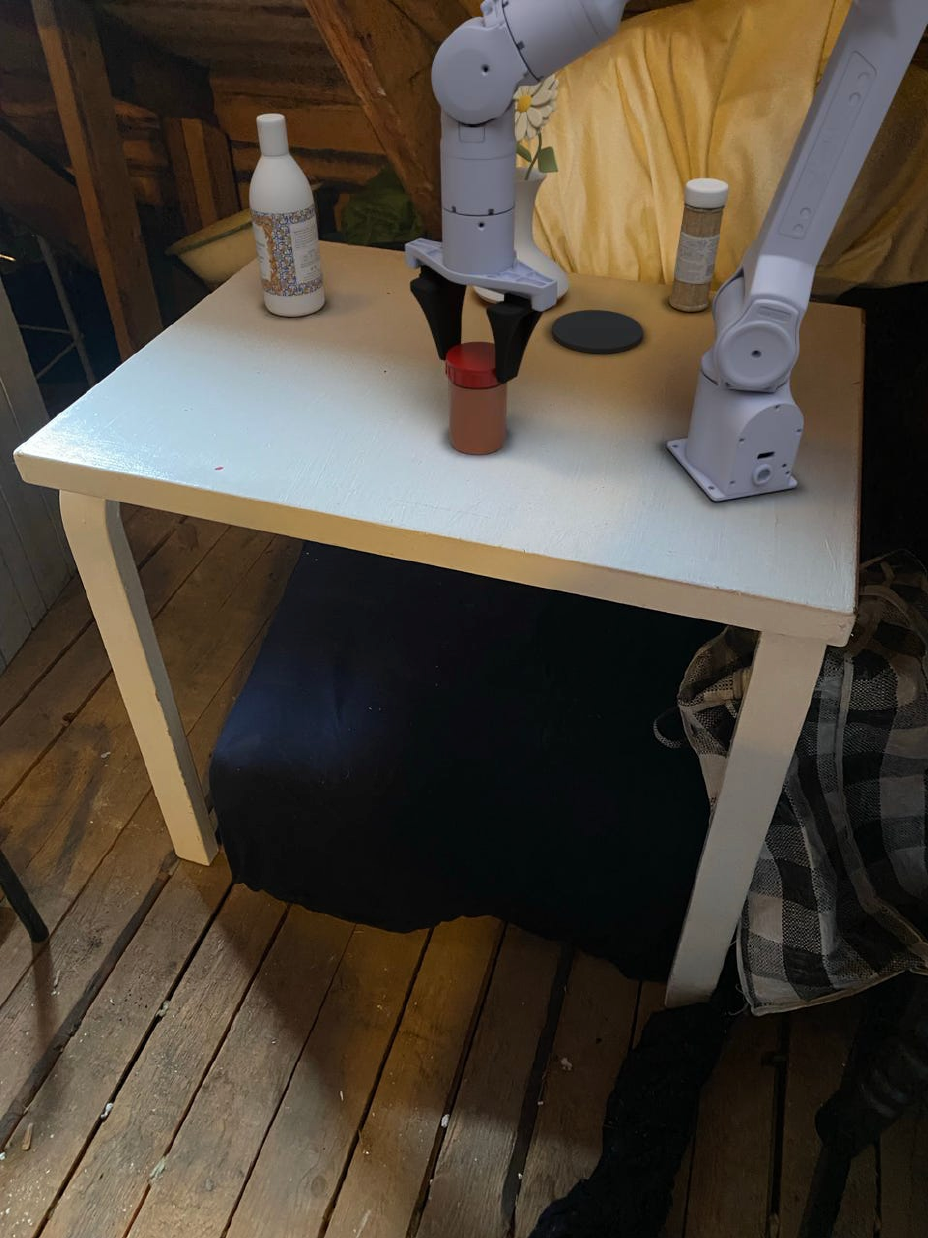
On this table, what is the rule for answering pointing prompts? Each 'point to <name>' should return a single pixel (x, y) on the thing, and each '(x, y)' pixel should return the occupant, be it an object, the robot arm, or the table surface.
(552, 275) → the flower in vase
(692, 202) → the sprinkles bottle
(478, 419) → the jar
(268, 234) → the bath foam
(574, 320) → the coaster
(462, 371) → the lid
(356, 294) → the table surface
